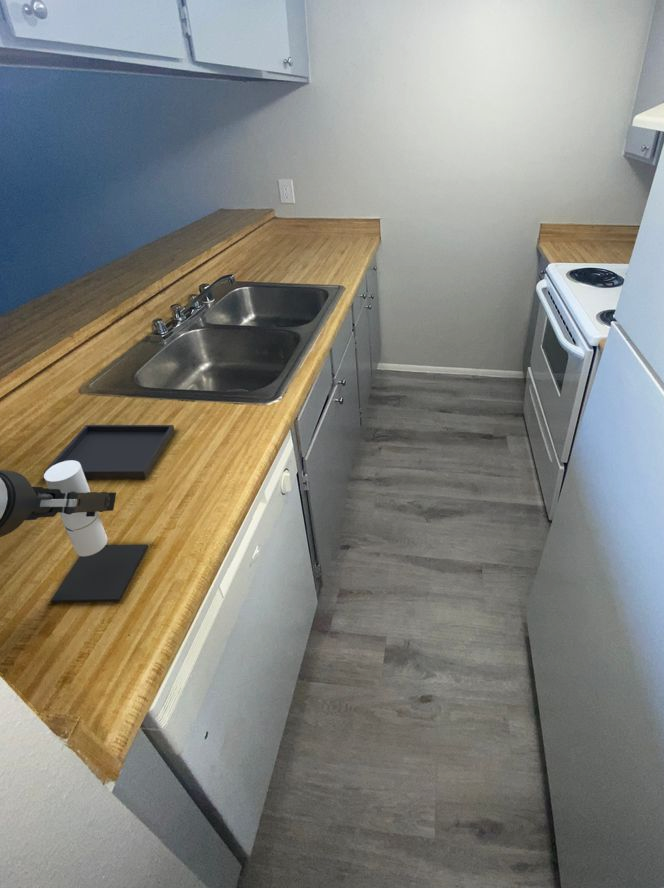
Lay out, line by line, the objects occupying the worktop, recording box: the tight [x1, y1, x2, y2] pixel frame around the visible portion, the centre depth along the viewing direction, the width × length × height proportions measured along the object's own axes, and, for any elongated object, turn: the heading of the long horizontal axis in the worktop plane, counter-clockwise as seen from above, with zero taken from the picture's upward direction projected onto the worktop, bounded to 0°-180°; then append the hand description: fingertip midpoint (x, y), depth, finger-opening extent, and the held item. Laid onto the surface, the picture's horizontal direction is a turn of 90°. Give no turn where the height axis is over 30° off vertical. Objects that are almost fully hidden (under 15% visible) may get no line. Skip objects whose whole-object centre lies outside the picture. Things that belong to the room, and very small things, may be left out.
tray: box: [43, 424, 176, 480], centre depth 101 cm, size 19×15×2 cm
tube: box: [43, 460, 109, 557], centre depth 69 cm, size 4×4×15 cm
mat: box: [50, 544, 149, 604], centre depth 76 cm, size 10×10×1 cm
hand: (95, 501), depth 74 cm, fingers closed on tube, 4 cm apart
